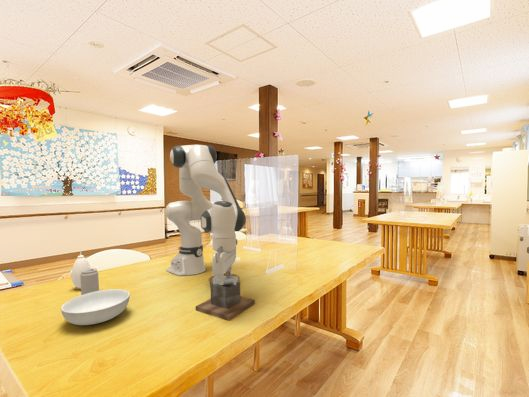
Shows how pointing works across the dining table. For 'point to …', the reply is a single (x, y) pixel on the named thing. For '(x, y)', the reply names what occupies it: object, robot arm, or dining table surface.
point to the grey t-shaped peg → (226, 280)
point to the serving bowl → (95, 306)
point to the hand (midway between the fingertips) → (225, 280)
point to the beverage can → (89, 281)
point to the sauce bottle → (79, 270)
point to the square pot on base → (225, 302)
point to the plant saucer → (224, 275)
